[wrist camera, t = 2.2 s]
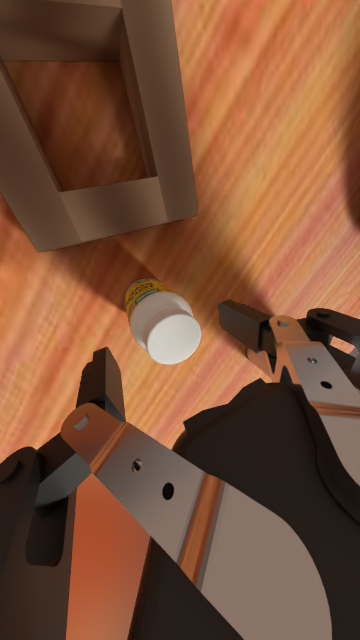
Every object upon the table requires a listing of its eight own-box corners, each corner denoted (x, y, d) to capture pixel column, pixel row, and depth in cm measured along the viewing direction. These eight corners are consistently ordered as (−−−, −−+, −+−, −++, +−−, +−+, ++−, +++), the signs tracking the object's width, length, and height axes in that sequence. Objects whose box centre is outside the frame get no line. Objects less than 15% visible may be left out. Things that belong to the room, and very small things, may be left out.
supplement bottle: (150, 327, 20) (176, 382, 12) (113, 304, 18) (116, 356, 9) (177, 295, 20) (222, 330, 12) (144, 266, 17) (173, 286, 9)
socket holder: (146, -15, 10) (159, -108, 7) (185, 219, 17) (199, 214, 14) (-124, -50, 7) (-261, -222, 5) (51, 250, 14) (36, 252, 11)
